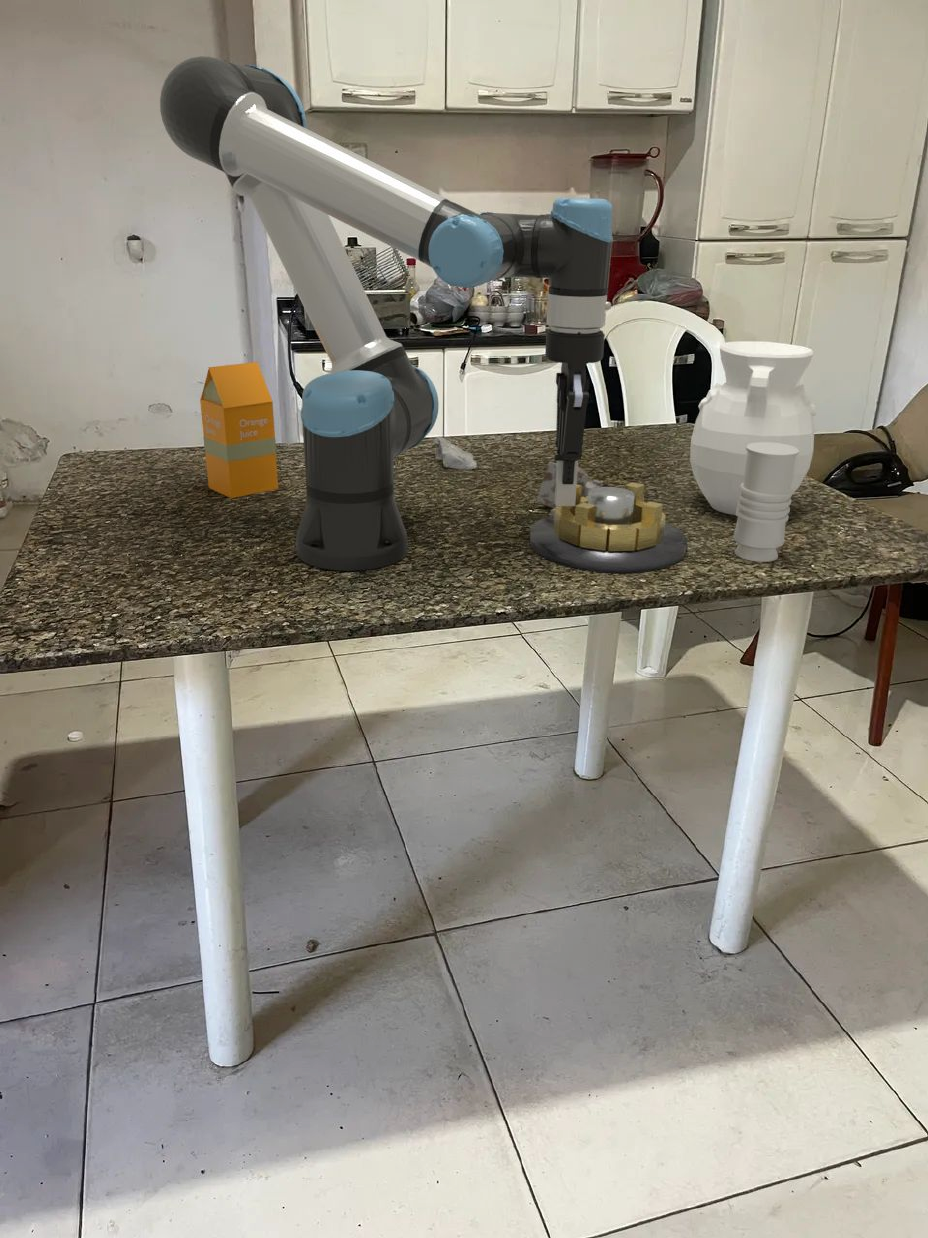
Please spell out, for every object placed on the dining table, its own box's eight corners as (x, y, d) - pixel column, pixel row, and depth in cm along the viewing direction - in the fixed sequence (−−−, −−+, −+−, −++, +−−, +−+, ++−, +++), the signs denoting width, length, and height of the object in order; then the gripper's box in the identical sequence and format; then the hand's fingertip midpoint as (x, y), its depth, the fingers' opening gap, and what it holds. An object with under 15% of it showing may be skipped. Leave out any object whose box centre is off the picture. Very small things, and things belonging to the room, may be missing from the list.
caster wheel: (616, 517, 154) (602, 526, 145) (552, 494, 157) (535, 502, 148) (630, 478, 152) (616, 485, 143) (565, 455, 155) (547, 461, 146)
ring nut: (566, 551, 126) (569, 512, 124) (546, 516, 140) (548, 480, 138) (675, 549, 128) (680, 510, 126) (645, 514, 142) (648, 479, 139)
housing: (544, 574, 124) (547, 520, 121) (518, 520, 144) (520, 472, 141) (707, 571, 126) (715, 517, 123) (660, 518, 146) (665, 470, 143)
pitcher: (801, 532, 141) (831, 360, 131) (676, 517, 146) (695, 351, 136) (803, 497, 157) (830, 342, 147) (690, 485, 163) (708, 334, 152)
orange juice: (207, 487, 156) (195, 363, 148) (255, 478, 162) (245, 358, 154) (231, 498, 151) (220, 371, 143) (279, 488, 157) (271, 365, 148)
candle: (733, 542, 136) (748, 439, 130) (783, 549, 134) (801, 445, 128) (727, 558, 130) (742, 451, 124) (779, 565, 128) (797, 457, 122)
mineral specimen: (465, 458, 180) (466, 436, 179) (479, 471, 169) (480, 447, 168) (431, 458, 179) (432, 435, 177) (443, 471, 168) (444, 446, 166)
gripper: (613, 336, 116) (599, 519, 126) (596, 322, 128) (584, 490, 138) (552, 335, 116) (542, 519, 126) (541, 321, 128) (533, 490, 138)
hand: (564, 504), depth 132 cm, fingers closed
